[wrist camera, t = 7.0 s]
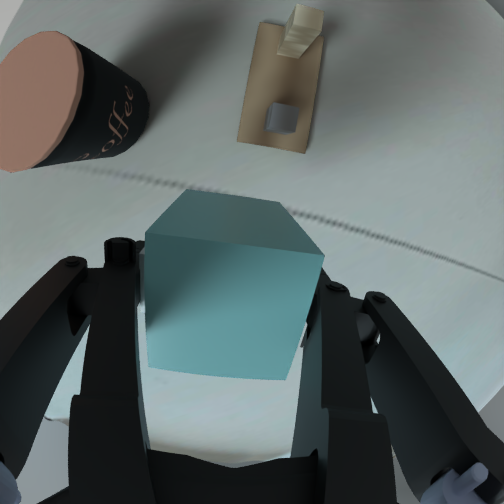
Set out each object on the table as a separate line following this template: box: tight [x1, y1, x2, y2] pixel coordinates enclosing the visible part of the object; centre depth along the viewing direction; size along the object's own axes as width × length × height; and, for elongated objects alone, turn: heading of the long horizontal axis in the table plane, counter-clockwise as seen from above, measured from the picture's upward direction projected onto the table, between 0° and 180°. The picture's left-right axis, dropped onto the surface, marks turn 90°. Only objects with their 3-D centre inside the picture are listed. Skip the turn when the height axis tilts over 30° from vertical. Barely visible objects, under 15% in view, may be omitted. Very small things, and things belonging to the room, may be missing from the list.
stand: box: [237, 4, 324, 154], centre depth 24 cm, size 8×16×10 cm, turn 171°
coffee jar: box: [0, 31, 149, 172], centre depth 20 cm, size 11×11×18 cm
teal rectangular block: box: [144, 189, 325, 380], centre depth 13 cm, size 6×6×9 cm
